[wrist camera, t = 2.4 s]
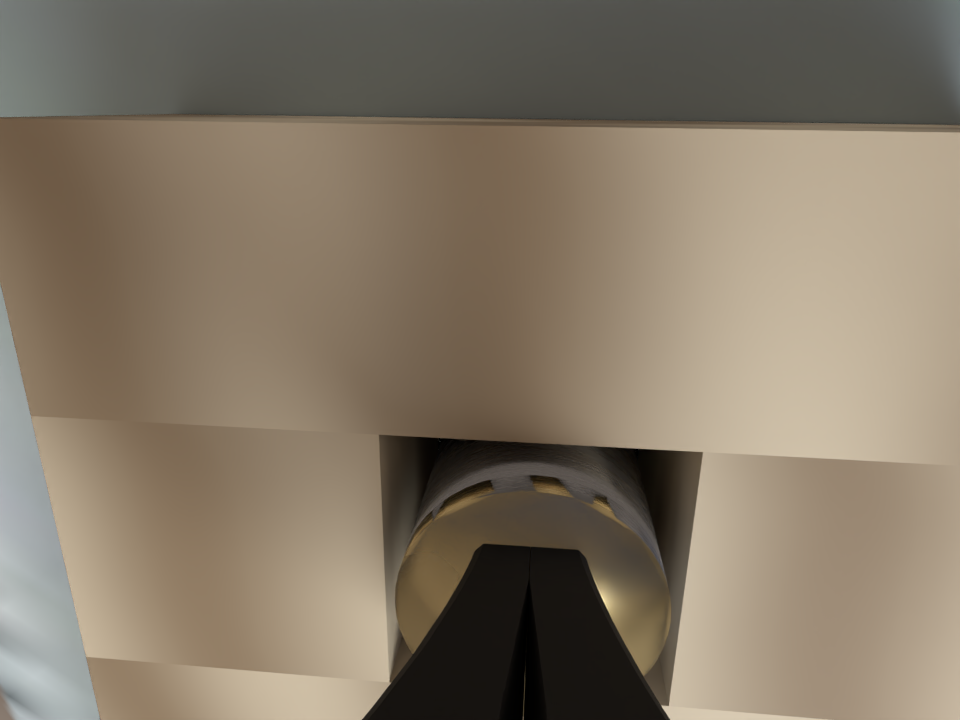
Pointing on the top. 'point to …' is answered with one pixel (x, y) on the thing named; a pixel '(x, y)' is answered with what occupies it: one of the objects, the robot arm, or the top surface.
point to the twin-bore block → (491, 388)
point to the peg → (538, 530)
